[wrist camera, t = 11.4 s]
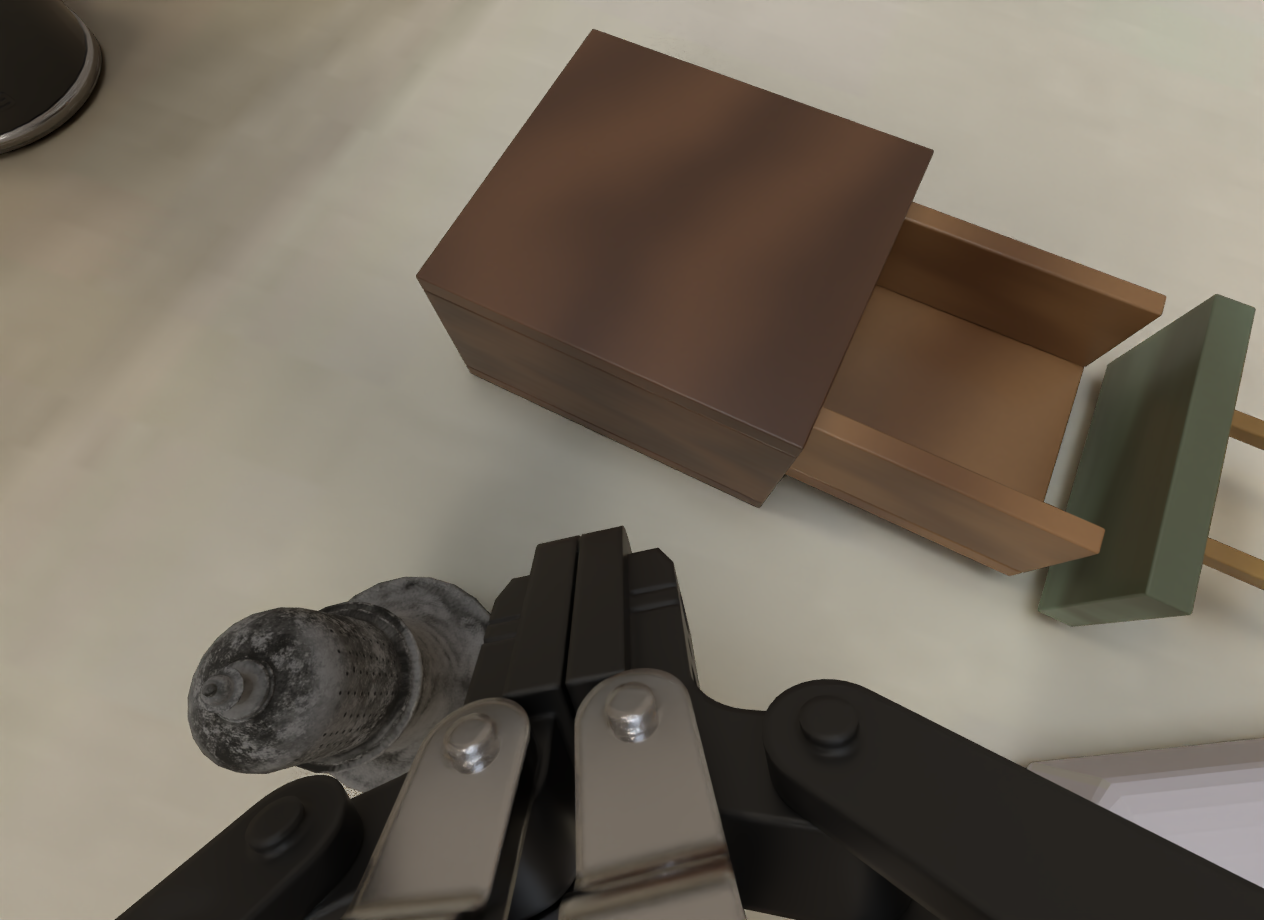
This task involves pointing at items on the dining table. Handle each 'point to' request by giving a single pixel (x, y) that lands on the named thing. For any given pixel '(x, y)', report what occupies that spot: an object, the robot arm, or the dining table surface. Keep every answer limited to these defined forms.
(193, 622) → the dining table surface
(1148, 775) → the charger
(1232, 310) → the drawer
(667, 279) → the cabinet
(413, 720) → the salt shaker
